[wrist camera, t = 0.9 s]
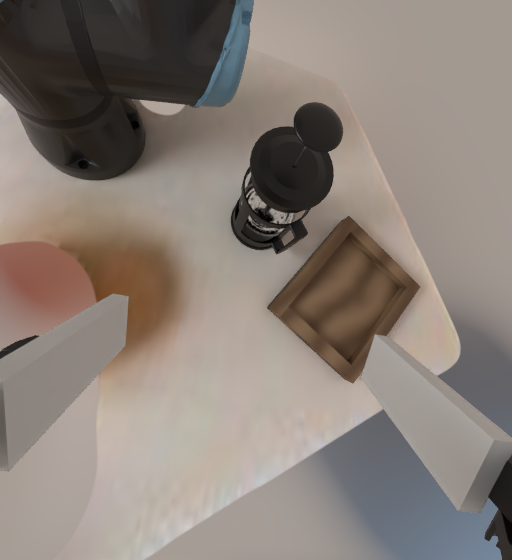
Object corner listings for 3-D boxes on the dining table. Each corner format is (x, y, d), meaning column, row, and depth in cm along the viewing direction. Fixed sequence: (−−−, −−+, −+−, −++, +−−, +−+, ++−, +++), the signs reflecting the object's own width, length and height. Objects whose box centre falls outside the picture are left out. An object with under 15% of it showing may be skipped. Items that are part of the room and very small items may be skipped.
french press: (218, 204, 41) (236, 78, 18) (267, 184, 43) (337, 48, 20) (251, 268, 40) (309, 219, 18) (298, 244, 43) (403, 175, 20)
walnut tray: (266, 307, 40) (270, 307, 38) (341, 220, 45) (349, 215, 42) (344, 379, 42) (353, 383, 39) (409, 287, 46) (420, 286, 44)
